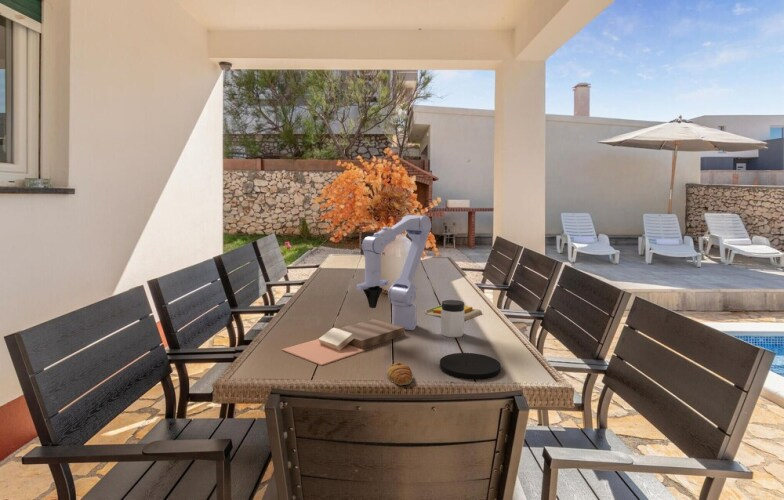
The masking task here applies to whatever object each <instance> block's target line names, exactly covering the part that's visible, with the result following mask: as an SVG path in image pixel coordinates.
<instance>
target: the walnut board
mask: <svg viewBox="0 0 784 500" xmlns="http://www.w3.org/2000/svg"><path fill="white" fill-rule="evenodd" d="M337 329H340V330H343V331H346V332H349V333H352V334H353V336H354V339H353V340H352V341H350V342H349V343H348V344H347V345H350V346H353V347H357V348H360V349H363V350H365V349H367V348H370V347H372V346H376V345H379V344H382V343H385V342H387V341H390V340H394V339H397V338H400V337H403V336H405V334H406V333H405V332H406V331H405V330H406V329H405V327H402V326H398V325H395V324H392V322H391V323H390V322H386V321H382V320H379V319H375V318H372V319H368V320H365V321H364V320H363V321H360V322H358V323H357V322H356V323H354V324H349V325H346V326H342V327H339V328H337Z"/></svg>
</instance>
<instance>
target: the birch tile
mask: <svg viewBox="0 0 784 500" xmlns="http://www.w3.org/2000/svg"><path fill="white" fill-rule="evenodd" d="M318 339H319V342H320V344H322V345H325V346H328V347H331V348H333V349H336V350H341V349H342V348H343V347H344V346H346V345H347V344H348V343H349V342H350V341H352V340H353V339H354V336H353V334H352V333H349V332H346V331H343V330H340V329H338V328H336V327H332V328H331V329H329V330H328V331H327V332H325V333H324V334H323V335H322V336H320V337H319V338H318Z"/></svg>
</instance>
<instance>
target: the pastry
mask: <svg viewBox="0 0 784 500" xmlns="http://www.w3.org/2000/svg"><path fill="white" fill-rule="evenodd" d="M386 375H387V378H388V380H390V381H391V382H392V381H393V382H394V383H393V382H392V383H393V384H395V383H396V384H395V385H397V384H398V386H404V385H405V386H407V385H410V384H411V383H412V382H413V376H414V375H413V372H412V370H411V367H410V366H409V365H406V364H405V363H403V362H395V363H393V364H391V365H390V366H388V369H387V372H386Z"/></svg>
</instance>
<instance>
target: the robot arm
mask: <svg viewBox="0 0 784 500" xmlns="http://www.w3.org/2000/svg"><path fill="white" fill-rule="evenodd" d="M431 229H432V222H431V219H430V217H429V216H428V215H417V214H416V215H415V214H406V215H404V216H402V217H401V220H399V221H398V222H397V223H395V224H393V225H392V226H391V227H389V226H383V227H382V228H381V229H380V230H379V231H377V232H374V233H373V235H371V236H370V235H369V236H366V237H364V238H363V239H362V244H360V246H361V247H360V248H361V250H362V252H363V256H364V282H363V281H362V282H360V283H358V284H356V287H355V288H356V289H355V290H356V291H359V292H362V291H363V293H364V294H365V296H366V299H367V302H368V306H369V308H371V309H375V308H377V305H378V301H379V298H380V296H381V294H382V292H383V286H389V279H382V253H383V252H384V250H385V248H386V247H387V246H389V244H392V242H395V240H396V238H397V236H399V235H400V234H402V233H404V232H406V234H407V236H408V237H409V238H410V239H411V244H410V246H409V250H408V252H407V256H406V258H405V261H404V265H403V267H402V270H401V274H400V276H399V277H398V278H397V279H395V280H393V282H392V284H391V286H390V287H389V289H388V292H387V297H388V300H389V301H390V304H392V310H391V311H392V312H391V315H392V317H391V320H392V321H391V324H395V325H398V326H402V327H405V330H407V331H408V330H409V331H413V330H415V329H416V327H417V325H418V307H417V304H414V303H415V300H416V298H417V290H418V288H417V286H416V284H415V283H414V280H415V278H416V274H417V271H418V268H419V266H420V263H421V259H422V256H423V253H424V250H425V248H426V244H427V240H428V237H429V235H430V231H431Z"/></svg>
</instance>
